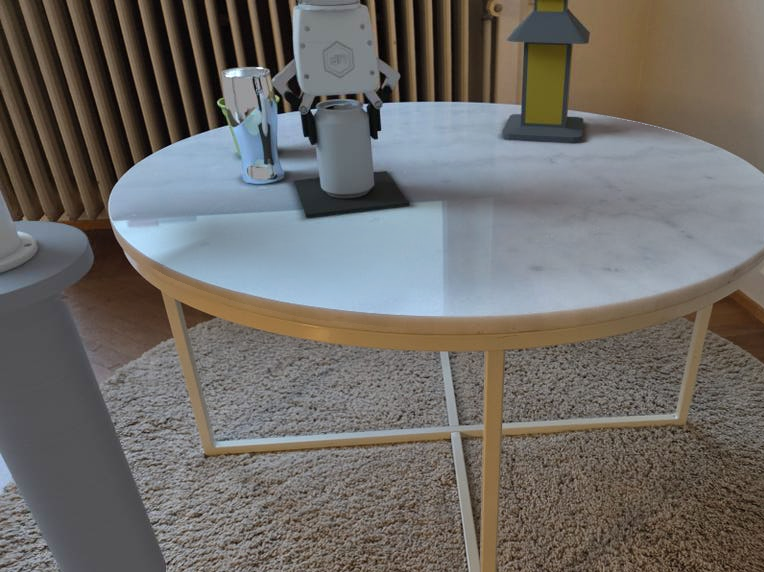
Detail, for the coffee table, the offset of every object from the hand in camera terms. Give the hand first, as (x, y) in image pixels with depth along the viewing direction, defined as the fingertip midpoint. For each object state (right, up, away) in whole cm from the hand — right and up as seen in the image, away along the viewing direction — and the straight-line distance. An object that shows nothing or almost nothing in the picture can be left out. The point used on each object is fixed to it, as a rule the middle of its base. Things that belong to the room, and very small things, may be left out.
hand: (343, 138), depth 92 cm
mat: (0, -6, +4) cm, 8 cm away
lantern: (+31, +12, +33) cm, 46 cm away
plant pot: (-18, +4, +19) cm, 27 cm away
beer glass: (-14, -3, +10) cm, 17 cm away
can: (0, -6, +4) cm, 8 cm away
